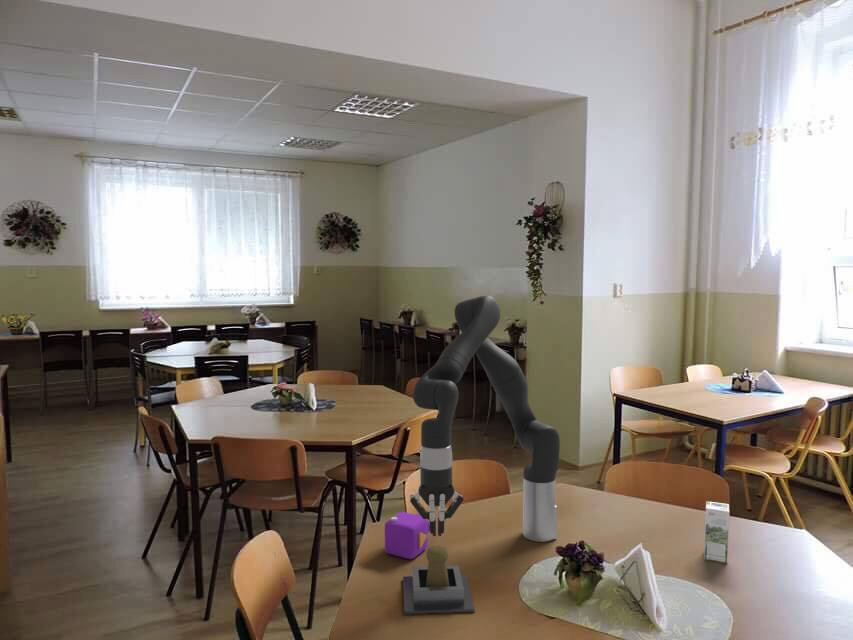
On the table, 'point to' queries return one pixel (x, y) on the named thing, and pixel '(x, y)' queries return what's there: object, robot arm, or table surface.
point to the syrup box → (716, 532)
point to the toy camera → (406, 535)
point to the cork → (437, 567)
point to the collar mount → (436, 593)
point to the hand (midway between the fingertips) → (436, 534)
